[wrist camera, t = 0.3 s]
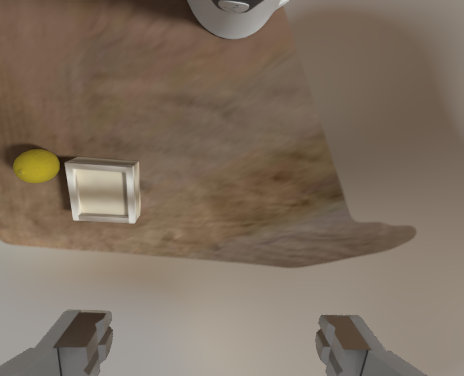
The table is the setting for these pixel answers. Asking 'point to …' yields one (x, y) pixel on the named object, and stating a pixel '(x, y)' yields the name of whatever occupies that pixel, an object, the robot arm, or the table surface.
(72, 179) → the base
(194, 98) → the table surface
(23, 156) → the lemon
